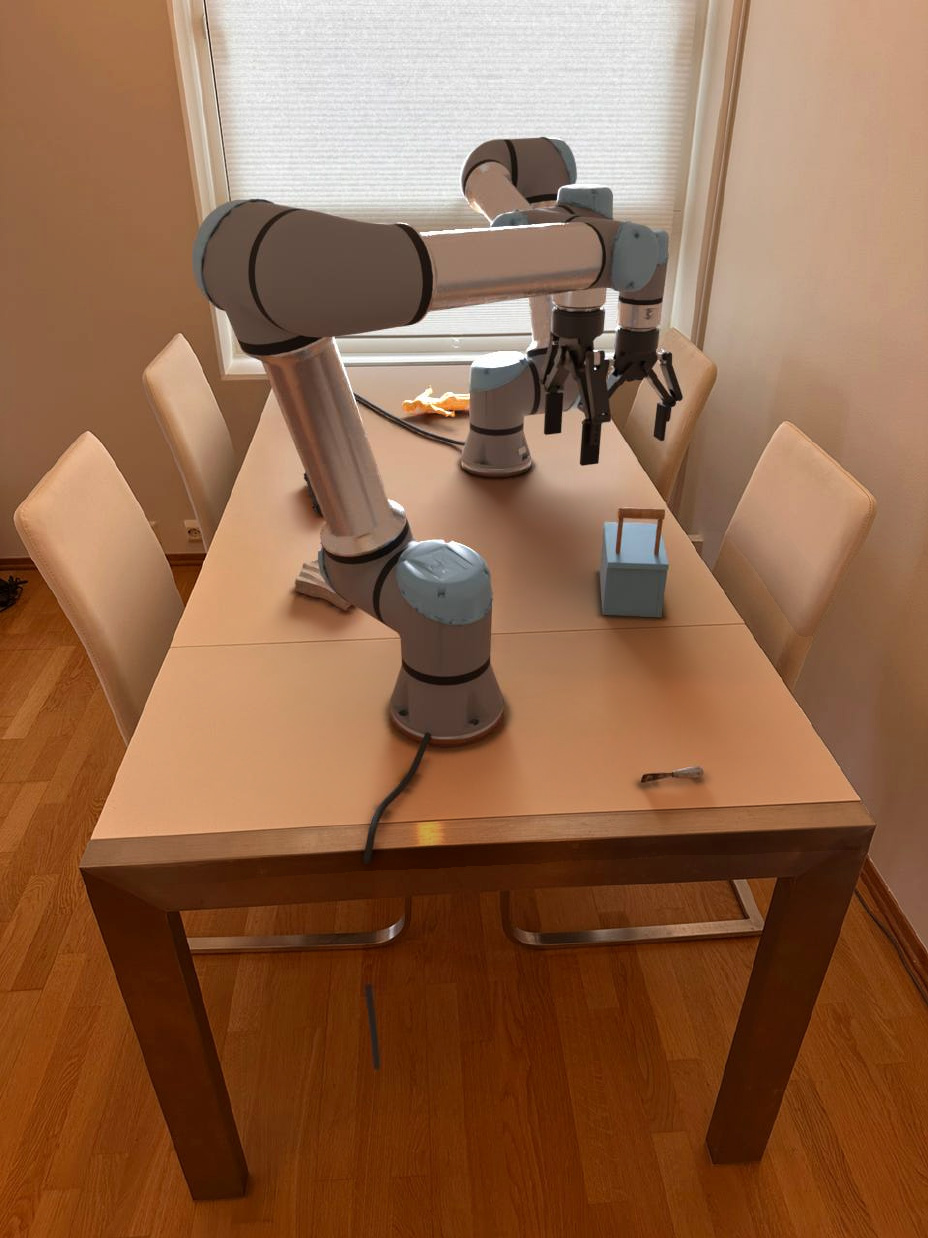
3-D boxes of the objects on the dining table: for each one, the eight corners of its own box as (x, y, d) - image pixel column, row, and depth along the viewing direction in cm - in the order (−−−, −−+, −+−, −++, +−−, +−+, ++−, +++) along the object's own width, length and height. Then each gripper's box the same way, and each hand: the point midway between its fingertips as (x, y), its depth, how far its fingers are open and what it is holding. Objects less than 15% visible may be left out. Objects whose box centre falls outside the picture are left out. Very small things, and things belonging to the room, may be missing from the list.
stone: (382, 577, 152) (381, 564, 151) (347, 611, 143) (346, 598, 142) (316, 564, 157) (314, 551, 155) (279, 596, 147) (277, 583, 146)
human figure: (395, 413, 223) (394, 398, 221) (438, 390, 237) (438, 375, 235) (462, 429, 215) (462, 413, 213) (502, 404, 229) (503, 388, 227)
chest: (661, 617, 141) (667, 568, 137) (602, 614, 142) (607, 566, 137) (653, 575, 153) (659, 529, 148) (599, 573, 154) (603, 527, 149)
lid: (668, 570, 136) (675, 518, 131) (607, 568, 137) (611, 516, 132) (659, 528, 148) (665, 480, 143) (603, 527, 149) (607, 478, 144)
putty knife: (703, 777, 109) (705, 767, 109) (642, 788, 108) (644, 777, 107) (700, 772, 110) (702, 762, 109) (639, 782, 109) (640, 771, 108)
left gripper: (644, 324, 117) (629, 474, 129) (567, 286, 138) (559, 419, 149) (593, 328, 115) (582, 481, 127) (521, 289, 135) (517, 424, 147)
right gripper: (582, 338, 147) (574, 459, 159) (712, 324, 155) (695, 441, 166) (563, 327, 153) (556, 444, 165) (688, 314, 160) (674, 428, 172)
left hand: (570, 448), depth 138 cm, fingers open, 13 cm apart
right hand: (626, 443), depth 165 cm, fingers open, 13 cm apart
